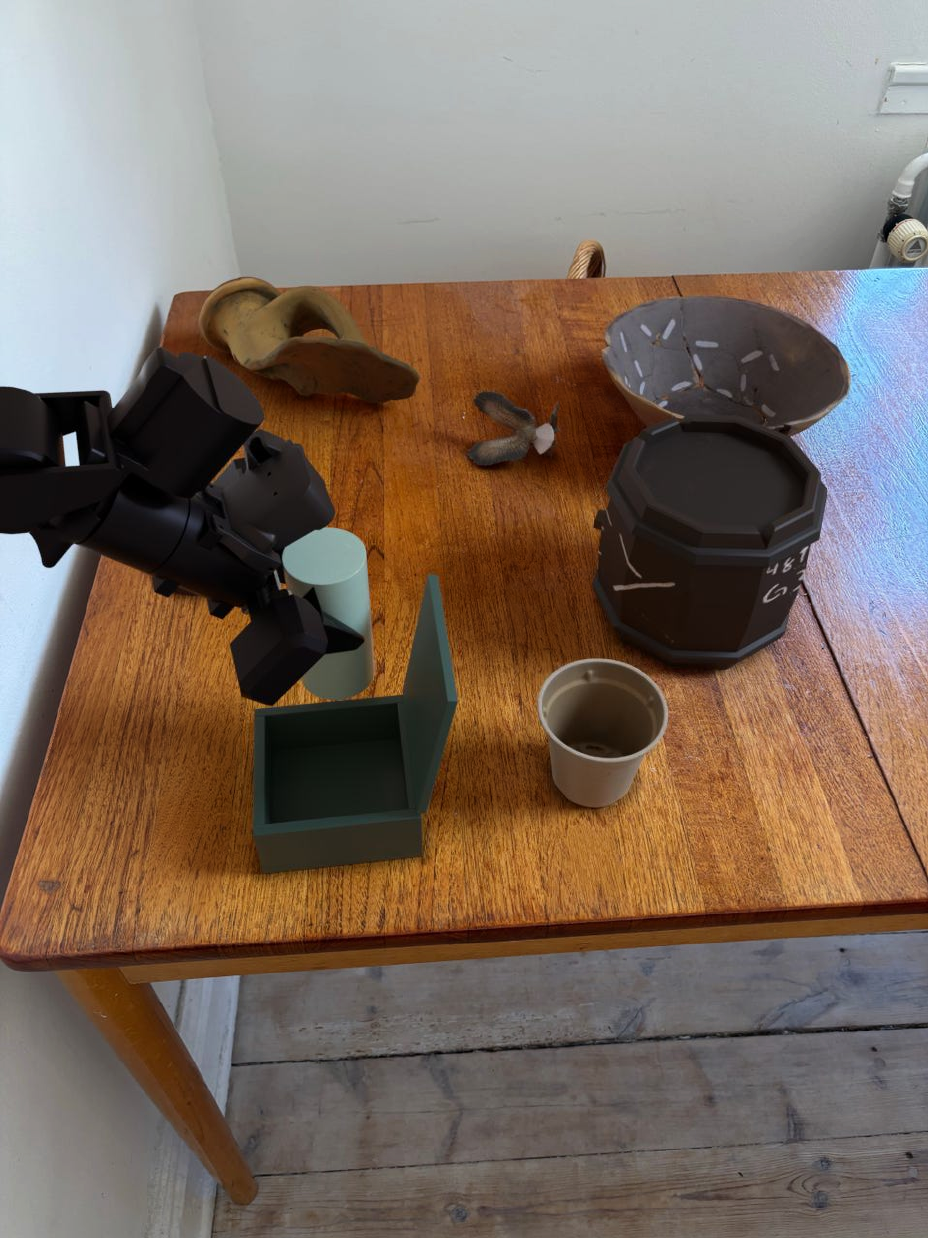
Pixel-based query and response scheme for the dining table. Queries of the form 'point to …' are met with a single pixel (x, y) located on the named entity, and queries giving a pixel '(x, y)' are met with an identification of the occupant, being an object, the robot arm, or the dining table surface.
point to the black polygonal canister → (706, 539)
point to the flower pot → (599, 727)
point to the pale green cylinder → (335, 605)
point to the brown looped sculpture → (301, 341)
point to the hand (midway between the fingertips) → (350, 614)
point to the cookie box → (333, 785)
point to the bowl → (724, 362)
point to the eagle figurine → (519, 422)
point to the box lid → (429, 694)
